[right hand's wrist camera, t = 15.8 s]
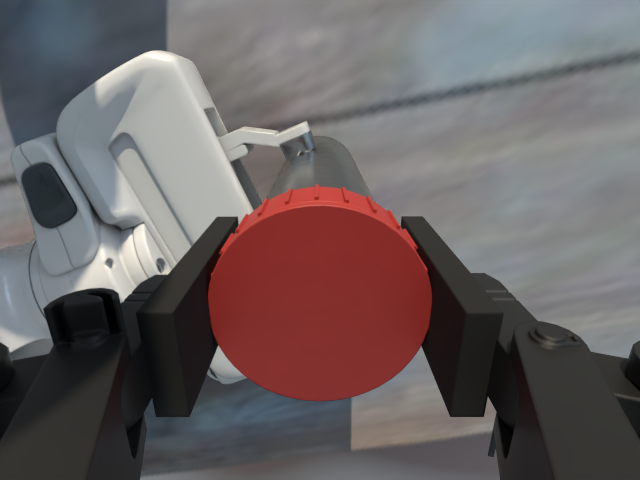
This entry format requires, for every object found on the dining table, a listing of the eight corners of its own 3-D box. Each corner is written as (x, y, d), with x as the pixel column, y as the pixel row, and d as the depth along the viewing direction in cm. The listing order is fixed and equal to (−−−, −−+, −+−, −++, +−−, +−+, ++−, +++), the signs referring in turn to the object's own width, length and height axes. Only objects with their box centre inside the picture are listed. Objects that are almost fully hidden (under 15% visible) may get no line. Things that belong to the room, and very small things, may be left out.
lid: (440, 201, 11) (465, 223, 9) (393, 371, 13) (404, 415, 11) (230, 167, 11) (212, 182, 9) (216, 347, 13) (198, 389, 11)
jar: (359, 199, 30) (421, 365, 11) (292, 210, 30) (250, 390, 12) (349, 130, 28) (405, 196, 10) (278, 143, 28) (202, 230, 10)
